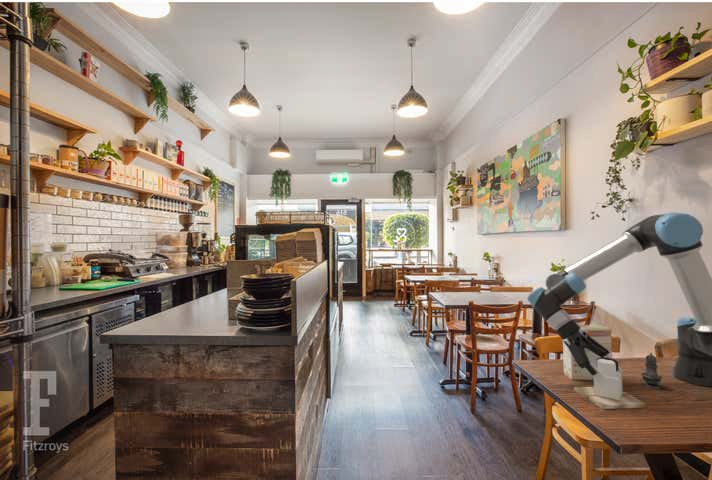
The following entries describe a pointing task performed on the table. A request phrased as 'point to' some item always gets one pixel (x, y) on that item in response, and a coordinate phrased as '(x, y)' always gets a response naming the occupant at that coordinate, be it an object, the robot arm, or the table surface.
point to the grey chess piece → (651, 373)
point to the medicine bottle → (614, 378)
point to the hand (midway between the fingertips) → (612, 378)
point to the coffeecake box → (571, 366)
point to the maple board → (607, 403)
